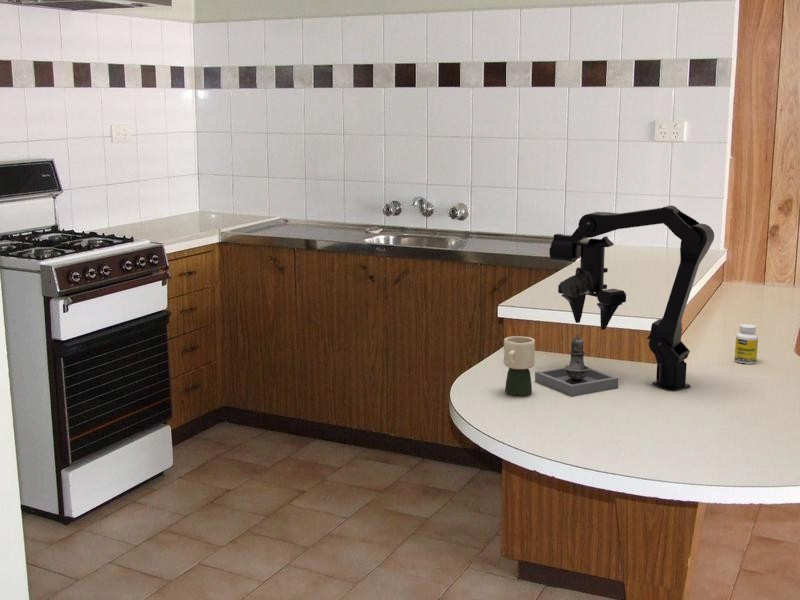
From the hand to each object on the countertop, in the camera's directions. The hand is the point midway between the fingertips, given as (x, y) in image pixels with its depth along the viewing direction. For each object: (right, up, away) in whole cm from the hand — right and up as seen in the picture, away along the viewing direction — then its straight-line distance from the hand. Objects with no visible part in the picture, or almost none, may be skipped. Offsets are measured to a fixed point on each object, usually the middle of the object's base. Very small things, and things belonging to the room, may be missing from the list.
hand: (590, 326), depth 231 cm
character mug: (-20, -16, -13) cm, 28 cm away
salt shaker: (-5, -14, -7) cm, 16 cm away
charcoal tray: (-5, -14, -7) cm, 16 cm away
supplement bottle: (+43, -10, +13) cm, 46 cm away
